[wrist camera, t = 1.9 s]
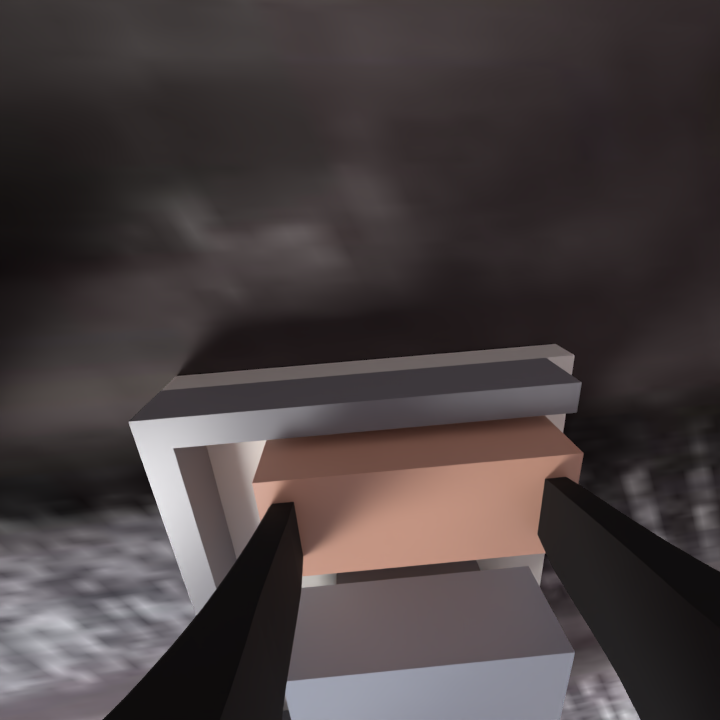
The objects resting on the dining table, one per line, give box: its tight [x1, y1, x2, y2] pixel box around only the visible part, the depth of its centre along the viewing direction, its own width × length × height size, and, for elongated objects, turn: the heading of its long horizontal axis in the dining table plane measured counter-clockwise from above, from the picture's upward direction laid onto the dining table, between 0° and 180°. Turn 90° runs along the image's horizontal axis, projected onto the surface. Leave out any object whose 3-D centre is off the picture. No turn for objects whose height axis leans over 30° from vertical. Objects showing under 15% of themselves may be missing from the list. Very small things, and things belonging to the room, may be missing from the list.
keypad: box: [129, 344, 582, 720], centre depth 15 cm, size 20×14×3 cm
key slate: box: [285, 566, 575, 720], centre depth 13 cm, size 4×9×3 cm, turn 94°
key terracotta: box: [252, 415, 584, 576], centre depth 12 cm, size 4×9×3 cm, turn 94°
